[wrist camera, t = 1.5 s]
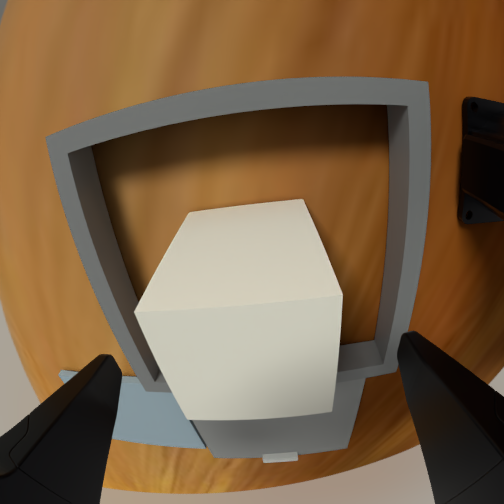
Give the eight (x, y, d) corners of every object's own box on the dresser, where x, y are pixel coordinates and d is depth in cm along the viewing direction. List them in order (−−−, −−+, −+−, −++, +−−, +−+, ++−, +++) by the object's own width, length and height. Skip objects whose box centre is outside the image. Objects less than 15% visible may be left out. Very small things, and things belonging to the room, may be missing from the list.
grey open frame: (405, 83, 10) (427, 81, 8) (360, 436, 23) (364, 453, 21) (70, 130, 11) (45, 137, 9) (199, 448, 24) (197, 466, 22)
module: (303, 199, 13) (342, 294, 7) (308, 298, 15) (331, 416, 9) (189, 212, 13) (134, 311, 7) (211, 307, 16) (189, 423, 9)
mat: (171, 378, 18) (169, 384, 18) (206, 443, 23) (206, 448, 22) (61, 369, 19) (58, 374, 19) (112, 433, 24) (111, 438, 23)
